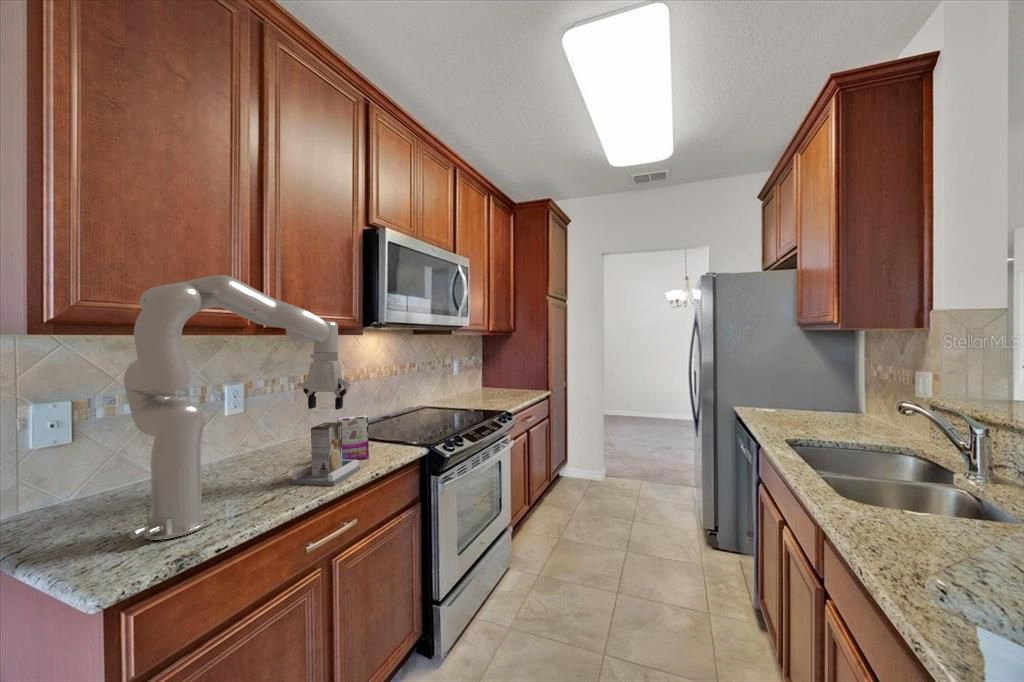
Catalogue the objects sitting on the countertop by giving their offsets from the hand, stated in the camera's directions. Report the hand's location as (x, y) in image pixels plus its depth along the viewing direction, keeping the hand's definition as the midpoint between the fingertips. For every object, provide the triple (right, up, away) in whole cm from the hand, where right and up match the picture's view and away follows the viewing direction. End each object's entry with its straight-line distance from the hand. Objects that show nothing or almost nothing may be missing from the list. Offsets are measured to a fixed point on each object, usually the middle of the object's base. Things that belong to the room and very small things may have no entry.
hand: (325, 408), depth 137 cm
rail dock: (0, -23, +1) cm, 23 cm away
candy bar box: (+1, -23, +21) cm, 31 cm away
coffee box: (+1, -22, 0) cm, 22 cm away
